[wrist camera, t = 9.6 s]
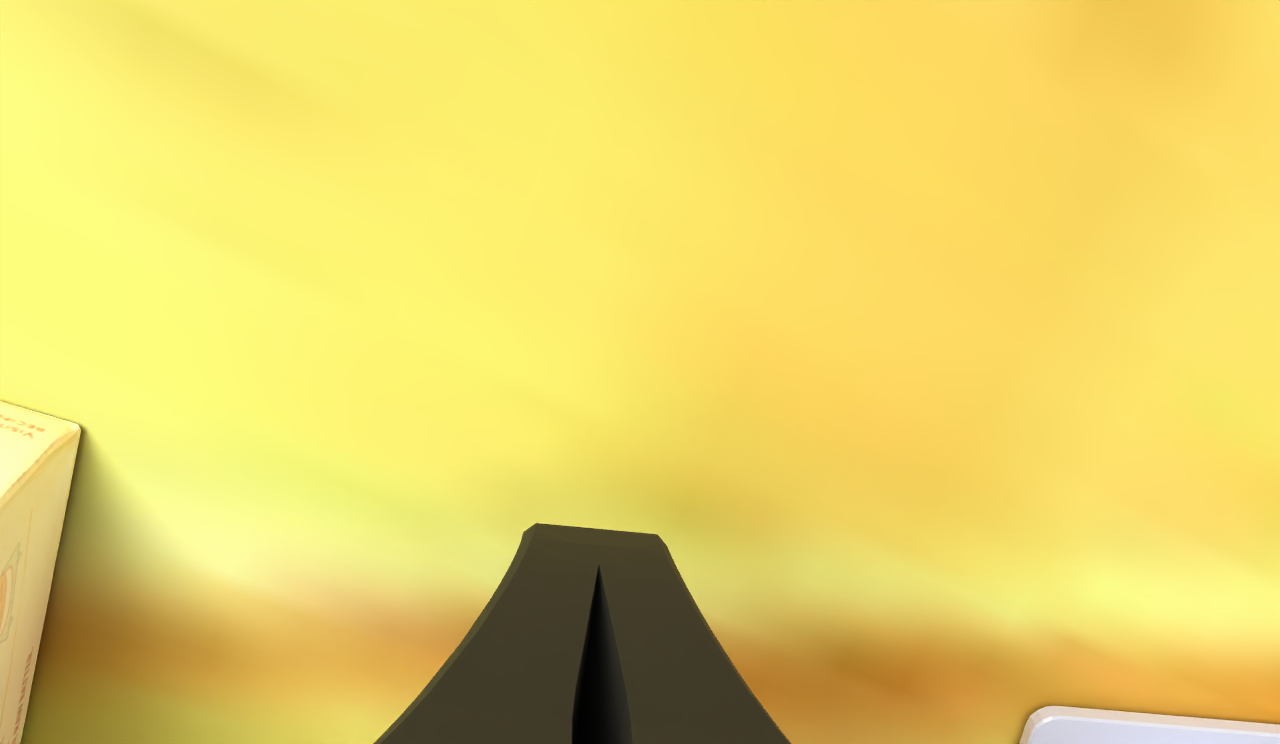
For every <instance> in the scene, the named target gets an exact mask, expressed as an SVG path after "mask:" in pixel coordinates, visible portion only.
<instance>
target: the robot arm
mask: <svg viewBox="0 0 1280 744" xmlns="http://www.w3.org/2000/svg"><path fill="white" fill-rule="evenodd" d="M374 744H791V743H790V742H789V741H788V739H787V738H786V737H785V735H784V734H783V733H782V732H781V730H780V729H779V728H778V726H777V725H776V724H775V722H774V721H773V720H772V718H771V717H770V716H769V714H768V713H767V712H766V710H765V709H764V708H763V706H762V705H761V704H760V702H759V701H758V700H757V698H756V697H755V696H754V694H753V693H752V691H751V690H750V688H749V687H748V686H747V684H746V683H745V681H744V680H743V678H742V677H741V675H740V674H739V673H738V671H737V669H736V668H735V666H734V665H733V663H732V662H731V660H730V659H729V657H728V655H727V654H726V652H725V651H724V649H723V648H722V646H721V645H720V643H719V641H718V640H717V638H716V637H715V635H714V634H713V632H712V630H711V629H710V627H709V625H708V624H707V622H706V620H705V619H704V617H703V615H702V614H701V612H700V610H699V608H698V606H697V605H696V603H695V601H694V599H693V598H692V596H691V594H690V592H689V590H688V588H687V587H686V585H685V583H684V581H683V579H682V577H681V575H680V573H679V571H678V569H677V567H676V565H675V563H674V561H673V559H672V557H671V555H670V552H669V550H668V548H667V546H666V544H665V543H664V542H663V541H662V539H661V538H660V537H659V536H658V535H657V534H647V533H636V532H625V531H614V530H604V529H593V528H582V527H571V526H561V525H550V524H539V523H536V524H534V525H533V526H532V527H530V528H529V529H527V530H526V531H524V533H523V536H522V540H521V543H520V546H519V548H518V550H517V552H516V555H515V557H514V559H513V561H512V563H511V565H510V567H509V569H508V571H507V572H506V574H505V576H504V578H503V579H502V581H501V583H500V584H499V586H498V588H497V590H496V591H495V593H494V595H493V596H492V598H491V599H490V601H489V602H488V604H487V605H486V607H485V608H484V610H483V611H482V613H481V614H480V616H479V617H478V619H477V620H476V621H475V623H474V624H473V626H472V627H471V629H470V630H469V632H468V633H467V635H466V636H465V638H464V639H463V640H462V642H461V643H460V644H459V646H458V647H457V648H456V650H455V651H454V652H453V653H452V655H451V656H450V657H449V658H448V660H447V661H446V662H445V663H444V665H443V666H442V667H441V668H440V670H439V671H438V672H437V673H436V675H435V676H434V677H433V678H432V680H431V681H430V682H429V683H428V684H427V686H426V687H425V688H424V689H423V691H422V692H421V693H420V694H419V695H418V697H417V698H416V699H415V700H414V701H413V702H412V703H411V705H410V706H409V707H408V708H407V709H406V710H405V711H404V712H403V713H402V715H401V716H400V717H399V718H398V719H397V720H396V721H395V722H394V723H393V724H392V725H391V726H390V727H389V728H388V730H387V731H386V732H385V733H384V734H383V735H382V736H381V737H380V738H379V739H378V740H377V741H376V742H375V743H374ZM1019 744H1280V725H1278V724H1267V723H1255V722H1243V721H1231V720H1219V719H1207V718H1195V717H1183V716H1172V715H1160V714H1148V713H1136V712H1124V711H1112V710H1100V709H1089V708H1077V707H1065V706H1046V707H1044V708H1041V709H1038V710H1037V711H1035V712H1034V713H1033V714H1032V715H1031V716H1030V717H1029V719H1028V721H1027V722H1026V725H1025V728H1024V731H1023V734H1022V737H1021V740H1020V743H1019Z"/></svg>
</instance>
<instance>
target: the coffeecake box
mask: <svg viewBox="0 0 1280 744" xmlns="http://www.w3.org/2000/svg"><path fill="white" fill-rule="evenodd" d="M80 434H81V429H80V427H79V425H78V424H76V423H72V422H69V421H66V420H62V419H59V418H56V417H52V416H49V415H46V414H42V413H39V412H36V411H32V410H29V409H25V408H22V407H19V406H15V405H12V404H9V403H5V402H2V401H0V744H20V742H21V737H22V733H23V728H24V724H25V718H26V713H27V708H28V703H29V697H30V691H31V686H32V681H33V676H34V671H35V666H36V660H37V655H38V650H39V645H40V640H41V635H42V630H43V625H44V620H45V615H46V610H47V605H48V599H49V594H50V589H51V584H52V578H53V573H54V567H55V562H56V557H57V552H58V547H59V542H60V537H61V532H62V527H63V522H64V516H65V511H66V506H67V501H68V496H69V491H70V485H71V480H72V474H73V469H74V464H75V459H76V454H77V449H78V444H79V439H80Z"/></svg>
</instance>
